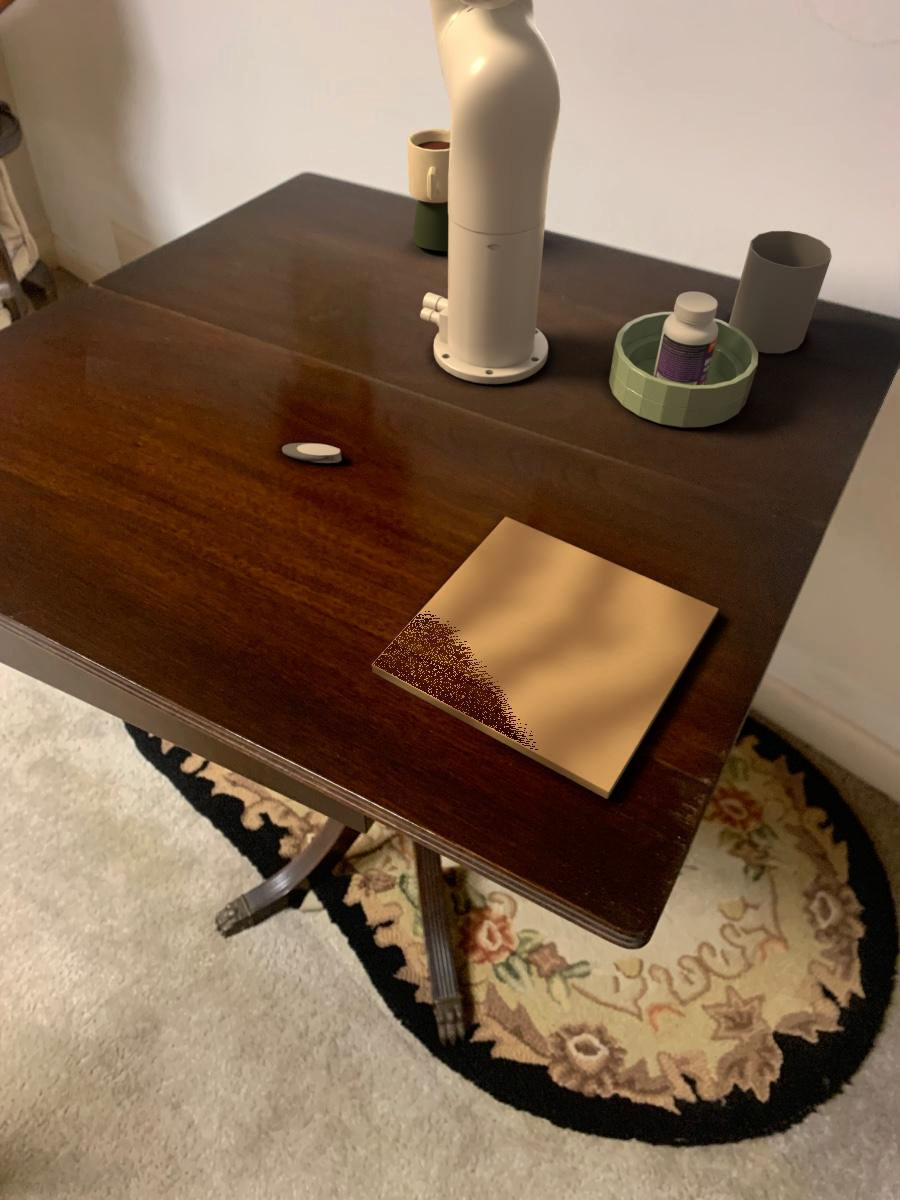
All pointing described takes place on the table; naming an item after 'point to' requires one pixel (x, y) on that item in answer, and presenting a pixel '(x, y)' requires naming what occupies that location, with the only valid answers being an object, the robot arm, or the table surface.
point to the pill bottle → (688, 340)
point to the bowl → (677, 400)
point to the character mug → (430, 186)
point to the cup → (779, 289)
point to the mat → (564, 649)
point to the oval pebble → (313, 452)
